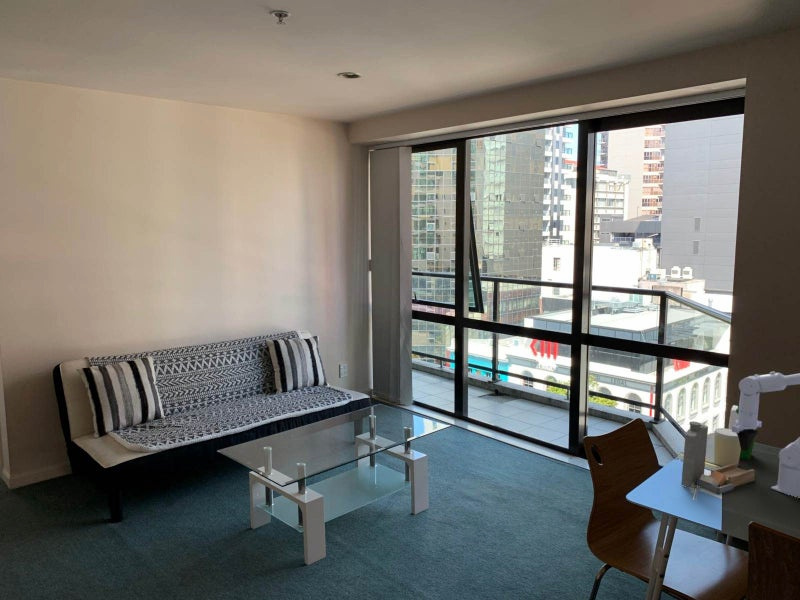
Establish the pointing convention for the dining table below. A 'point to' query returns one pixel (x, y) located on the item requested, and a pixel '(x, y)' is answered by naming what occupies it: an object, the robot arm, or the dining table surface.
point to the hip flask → (694, 453)
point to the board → (736, 474)
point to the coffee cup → (726, 447)
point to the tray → (714, 487)
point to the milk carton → (731, 423)
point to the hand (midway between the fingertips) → (744, 449)
